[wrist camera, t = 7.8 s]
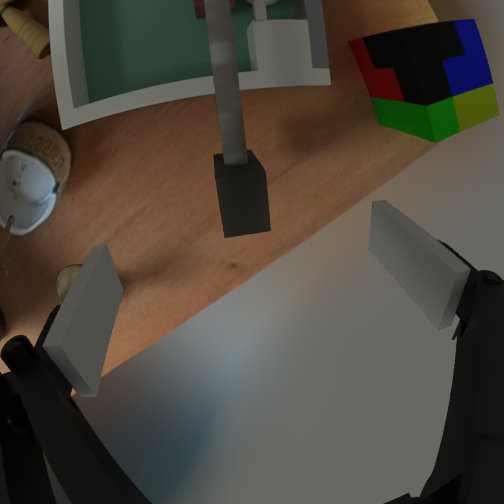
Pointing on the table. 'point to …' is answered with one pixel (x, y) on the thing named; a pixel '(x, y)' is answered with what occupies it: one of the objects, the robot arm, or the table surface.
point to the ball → (268, 1)
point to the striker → (233, 132)
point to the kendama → (26, 29)
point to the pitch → (174, 52)
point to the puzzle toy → (428, 78)
